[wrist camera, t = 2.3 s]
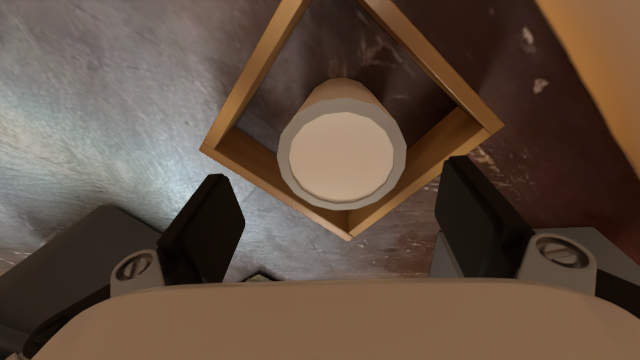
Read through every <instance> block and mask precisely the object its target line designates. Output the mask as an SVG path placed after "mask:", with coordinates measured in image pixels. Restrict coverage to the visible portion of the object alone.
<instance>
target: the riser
mask: <svg viewBox="0 0 640 360" xmlns="http://www.w3.org/2000/svg"><path fill="white" fill-rule="evenodd" d="M533 230H534V231H535V233H536V234H538V233H555V234H559V235H562V236H566V237H568V238H570V239H573V240H575V241H577V242H578V243H580V244H582V245H583V246H585V247H586V248H587V249H588V250H589V251H590V252H591V253H592V254H593V255H594V257H595V258H596V262H597V268H598V269H601V270H603V271H605V272H608V273H610V274H613V275H615V276H617V277H620V278H622V279H625V280H627V281H629V282H632V283H634V284H636V285H639V286H640V266H638V265H637V264H636V263H635V262H634V261H633V260H631V259H630V258H629V257H628V256H627V255H626V254H624V253H623V252H622V251H621V250H620V249H619V248H617V247H616V246H615V245H614V244H613V243H612V242H610V241H609V240H608V239H607V238H606V237H605V236H603V235H602V234H601V233H600V232H599V231H598V230H596V229H595V228H594V227H570V228H541V229H533ZM429 278H465V277H464V275H463V273H462V271H461V269H460V267H459V265H458V263H457V261H456V259H455V257H454V254H453V252H452V250H451V248H450V246H449V244H448V242H447V240H446V238H445V236H444V234H443V232H438V236H437V241H436V245H435V250H434V255H433V259H432V264H431V269H430V273H429Z"/></svg>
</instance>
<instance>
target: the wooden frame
mask: <svg viewBox="0 0 640 360" xmlns="http://www.w3.org/2000/svg"><path fill="white" fill-rule="evenodd" d="M311 1H312V0H282V1H281V3H280V4H279V6H278V8H277V10H276V12H275V13H274V15H273V17H272V19H271V21H270V22H269V24H268V26H267V28H266V30H265V31H264V33H263V35H262V37H261V39H260V40H259V42H258V44H257V46H256V48H255V49H254V51H253V53H252V55H251V57H250V58H249V60H248V62H247V64H246V66H245V67H244V69H243V71H242V73H241V75H240V76H239V78H238V80H237V82H236V84H235V85H234V87H233V89H232V91H231V93H230V94H229V96H228V98H227V100H226V101H225V103H224V105H223V107H222V109H221V110H220V112H219V114H218V116H217V118H216V119H215V121H214V123H213V125H212V127H211V128H210V130H209V132H208V134H207V136H206V137H205V139H204V141H203V143H202V145H201V147H200V148H199V151H201V152H202V153H204V154H206V155H207V156H209V157H210V158H212V159H214V160H215V161H217V162H219V163H220V164H222V165H223V166H225V167H227V168H228V169H230V170H232V171H233V172H235V173H237V174H238V175H240V176H241V177H243V178H245V179H246V180H248V181H250V182H251V183H253V184H255V185H256V186H258V187H259V188H261V189H263V190H264V191H266V192H268V193H269V194H271V195H272V196H274V197H276V198H277V199H279V200H281V201H282V202H284V203H286V204H287V205H289V206H290V207H292V208H294V209H295V210H297V211H299V212H300V213H302V214H304V215H305V216H307V217H308V218H310V219H312V220H313V221H315V222H317V223H318V224H320V225H321V226H323V227H325V228H326V229H328V230H330V231H331V232H333V233H335V234H336V235H338V236H339V237H341V238H343V239H344V240H346V241H348V242H349V241H350V240H352V239H353V238H354V237H356V236H357V235H359V234H360V233H361V232H363V231H364V230H365V229H367V228H368V227H369V226H371V225H372V224H373V223H375V222H376V221H377V220H379V219H380V218H381V217H383V216H384V215H385V214H387V213H388V212H389V211H391V210H392V209H393V208H395V207H396V206H397V205H399V204H400V203H401V202H403V201H404V200H405V199H407V198H408V197H409V196H411V195H412V194H413V193H415V192H416V191H417V190H419V189H420V188H421V187H423V186H424V185H425V184H427V183H428V182H430V181H431V180H432V179H434V178H435V177H436V176H438V175H439V174H440V173H442V168H443V163H444V161H445V160H448V158H449V157H450V156H459V155H466V154H467V153H468V152H470V151H471V150H472V149H474V148H475V147H476V146H478V145H479V144H480V143H482V142H483V141H484V140H486V139H487V138H488V137H490V136H491V134H492V135H493V134H494V133H495V132H497V131H498V130H499V129H501V128H502V127H503V126H504V124H503V123H502V122H501V120H500V119H499V118H498V117H497V116H496V115H495V114H494V113H493V112H492V111H491V109H490V108H489V107H488V106H487V105H486V104H485V103H484V102H483V101H482V100H481V98H480V97H479V96H478V95H477V94H476V93H475V92H474V91H473V90H472V89H471V87H470V86H469V85H468V84H467V83H466V82H465V81H464V80H463V79H462V78H461V76H460V75H459V74H458V73H457V72H456V71H455V70H454V69H453V68H452V67H451V65H450V64H449V63H448V62H447V61H446V60H445V59H444V58H443V57H442V56H441V54H440V53H439V52H438V51H437V50H436V49H435V48H434V47H433V46H432V45H431V43H430V42H429V41H428V40H427V39H426V38H425V37H424V36H423V35H422V34H421V33H420V31H419V30H418V29H417V28H416V27H415V26H414V25H413V24H412V23H411V22H410V20H409V19H408V18H407V17H406V16H405V15H404V14H403V13H402V12H401V11H400V9H399V8H398V7H397V6H396V5H395V4H394V3H393V2H392V1H391V0H356V1H357V2H358V3H359V4H360V5H361V6H362V7H363V8H364V9H365V10H366V11H367V12H368V13H369V14H370V15H371V16H372V17H373V18H374V19H375V20H376V21H377V22H378V24H379V25H380V26H381V27H382V28H383V29H384V30H385V31H386V32H387V33H388V34H389V35H390V36H391V37H392V38H393V39H394V40H395V41H396V42H397V43H398V44H399V45H400V46H401V47H402V48H403V49H404V50H405V51H406V52H407V53H408V55H409V56H410V57H411V58H412V59H413V60H414V61H415V62H416V63H417V64H418V65H419V66H420V67H421V68H422V69H423V70H424V71H425V72H426V73H427V74H428V75H429V76H430V77H431V78H432V79H433V80H434V81H435V82H436V83H437V84H438V86H439V87H440V88H441V89H442V90H443V91H444V92H445V93H446V94H447V95H448V96H449V97H450V98H451V99H452V100H453V101H454V102H455V103H456V104H457V105H458V106H457V107H456V108H455V109H454V110H453V111H452V112H450V113H449V114H448V115H447V116H446V117H445V118H443V119H442V120H441V121H440V122H439V123H438V124H437V125H435V126H434V127H433V128H432V129H431V130H430V131H428V132H427V133H426V134H425V135H424V136H423V137H422V138H420V139H419V140H418V141H417V142H416V143H415V144H413V145H412V146H411V147H410V148H409V149H408V150H407V151H406V160H405V169H404V171H403V172H402V174H401V176H400V178H399V180H398V181H397V183H396V185H395V187H394V188H393V189H392V190H390V191H389V192H388V193H387V194H385V195H384V196H383V197H382V198H381V199H379V200H378V201H377V202H374V203H371V204H369V205H366V206H363V207H361V208H358V209H350V210H331V209H327V208H322V207H318V206H314V205H312V204H310V203H309V202H307V201H306V200H304V199H302V198H301V197H299V196H297V195H296V194H295V193H294V192H293V191H292V189H291V188H290V187H289V186H288V184H287V183H286V182H285V181H284V179H283V178H282V175H281V171H280V168H279V164H278V160H277V155H276V154H274V153H273V152H271V151H270V150H268V149H267V148H265V147H264V146H262V145H261V144H259V143H258V142H256V141H255V140H254V139H252V138H251V137H249V136H248V135H246V134H245V133H243V132H242V131H240V130H239V129H237V128H236V127H234V126H235V124H236V123H237V121H238V119H239V118H240V116H241V115H242V113H243V111H244V110H245V108H246V107H247V105H248V103H249V102H250V100H251V98H252V97H253V95H254V94H255V92H256V90H257V89H258V87H259V85H260V84H261V82H262V81H263V79H264V77H265V76H266V74H267V72H268V71H269V69H270V68H271V66H272V64H273V63H274V61H275V60H276V58H277V56H278V55H279V53H280V51H281V50H282V48H283V47H284V45H285V43H286V42H287V40H288V38H289V37H290V35H291V34H292V32H293V30H294V29H295V27H296V26H297V24H298V22H299V21H300V19H301V17H302V16H303V14H304V13H305V11H306V9H307V8H308V6H309V4H310V3H311Z"/></svg>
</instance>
